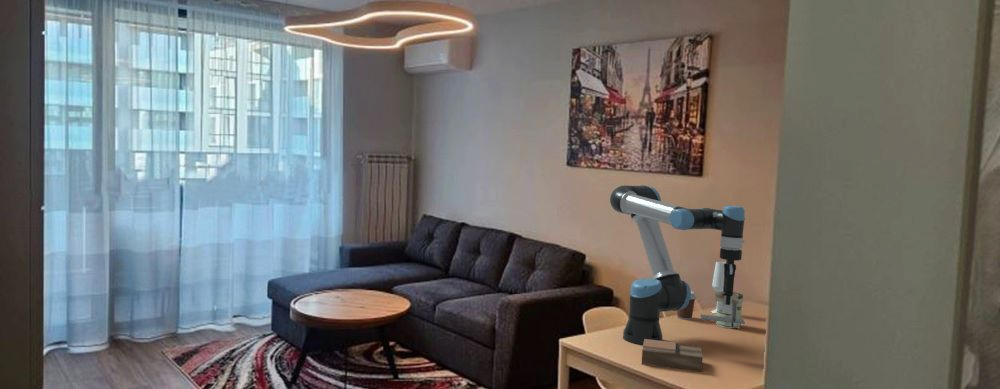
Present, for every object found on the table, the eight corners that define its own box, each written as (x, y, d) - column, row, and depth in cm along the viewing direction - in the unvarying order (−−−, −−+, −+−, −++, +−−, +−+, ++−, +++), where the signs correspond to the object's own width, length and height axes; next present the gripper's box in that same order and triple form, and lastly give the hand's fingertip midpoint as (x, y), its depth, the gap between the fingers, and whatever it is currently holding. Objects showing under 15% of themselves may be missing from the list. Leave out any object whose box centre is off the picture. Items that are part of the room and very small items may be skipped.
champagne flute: (707, 311, 319) (711, 261, 317) (721, 311, 319) (725, 261, 318) (713, 314, 312) (717, 263, 311) (727, 315, 313) (731, 264, 311)
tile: (675, 342, 239) (675, 345, 240) (644, 338, 242) (643, 342, 242) (675, 349, 231) (675, 352, 231) (643, 345, 233) (642, 349, 234)
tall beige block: (743, 320, 247) (745, 293, 246) (744, 323, 241) (746, 296, 241) (700, 315, 251) (702, 289, 250) (701, 319, 245) (703, 292, 244)
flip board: (642, 354, 244) (643, 339, 244) (700, 361, 239) (701, 346, 239) (641, 364, 232) (642, 348, 232) (701, 371, 228) (702, 355, 227)
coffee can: (719, 321, 300) (721, 290, 299) (743, 325, 294) (745, 293, 293) (712, 325, 291) (715, 293, 290) (737, 330, 286) (740, 297, 285)
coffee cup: (697, 321, 298) (699, 294, 297) (676, 320, 298) (678, 293, 297) (691, 316, 307) (693, 290, 306) (671, 314, 307) (673, 289, 306)
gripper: (744, 252, 235) (739, 318, 237) (739, 246, 251) (735, 308, 252) (721, 250, 237) (717, 315, 239) (718, 244, 253) (714, 306, 254)
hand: (726, 311), depth 246 cm, fingers closed on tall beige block, 3 cm apart
